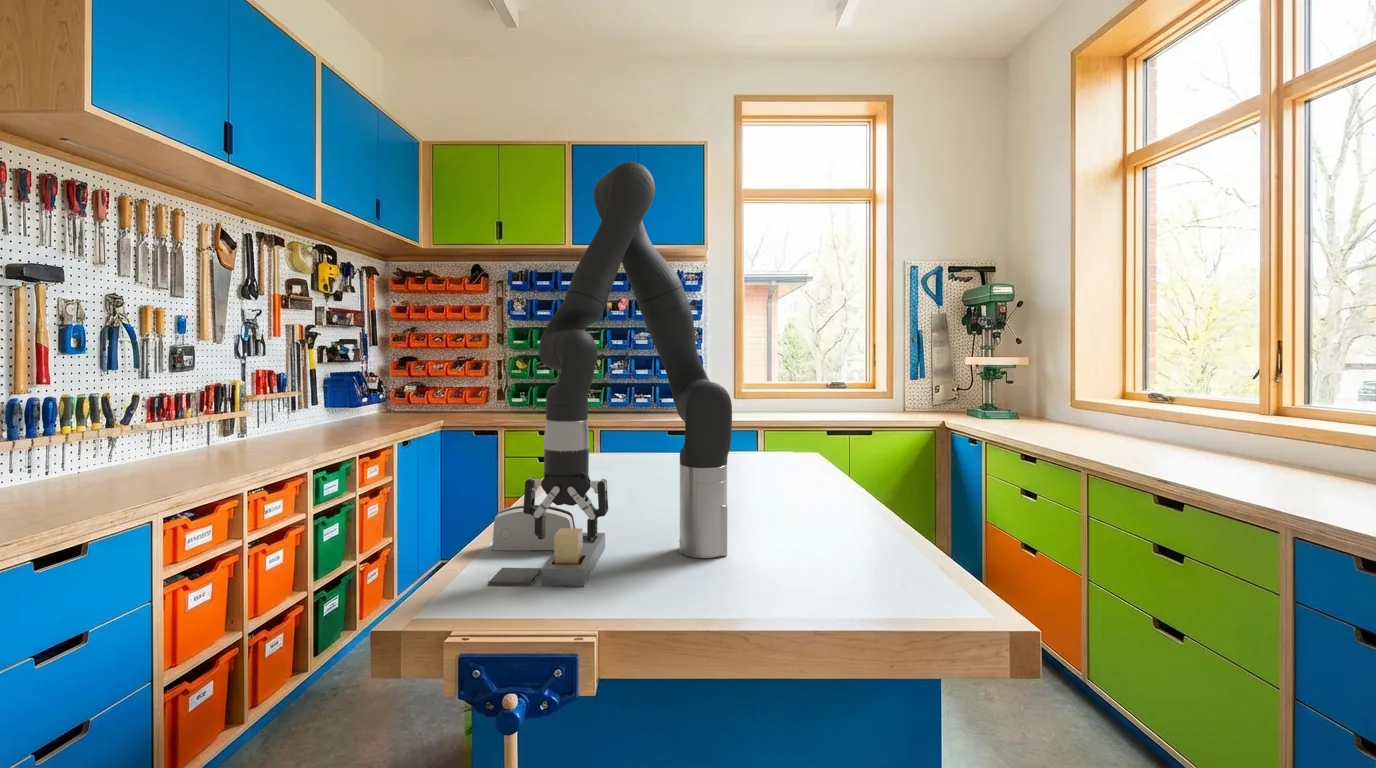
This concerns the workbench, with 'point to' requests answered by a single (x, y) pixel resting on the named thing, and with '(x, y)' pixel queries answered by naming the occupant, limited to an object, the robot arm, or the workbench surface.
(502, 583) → the pad
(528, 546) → the white arched device
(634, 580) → the workbench surface
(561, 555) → the tan wooden beam
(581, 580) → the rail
